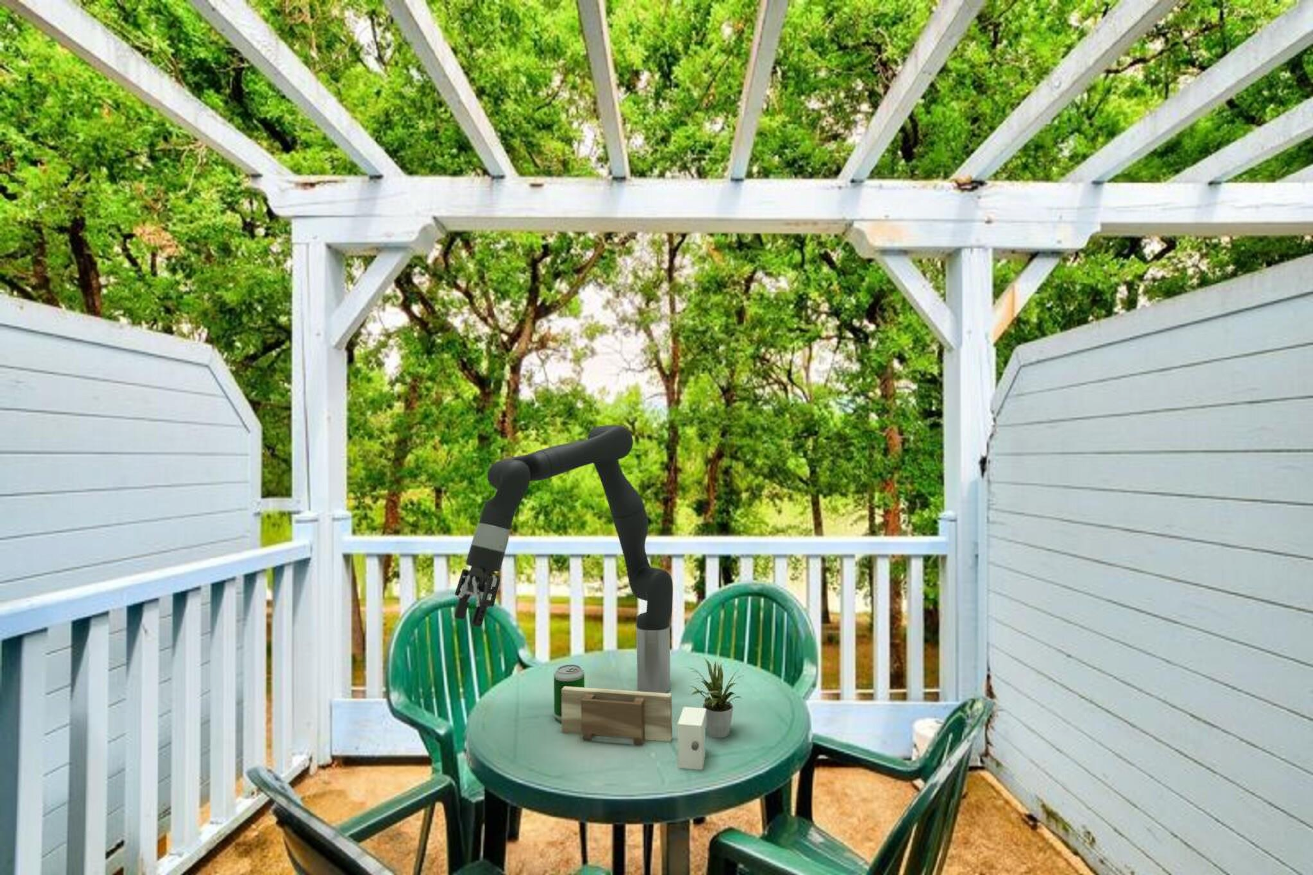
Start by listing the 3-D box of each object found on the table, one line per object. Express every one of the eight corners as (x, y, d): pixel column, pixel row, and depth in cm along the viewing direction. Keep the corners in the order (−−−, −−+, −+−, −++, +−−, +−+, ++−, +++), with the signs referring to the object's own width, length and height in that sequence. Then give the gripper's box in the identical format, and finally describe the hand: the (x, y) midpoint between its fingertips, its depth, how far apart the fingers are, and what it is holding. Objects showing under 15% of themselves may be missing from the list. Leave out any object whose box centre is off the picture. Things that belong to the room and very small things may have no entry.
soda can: (579, 725, 144) (578, 675, 144) (549, 722, 145) (549, 673, 146) (588, 711, 151) (588, 664, 151) (560, 709, 153) (560, 662, 153)
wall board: (564, 728, 142) (564, 686, 142) (672, 737, 137) (671, 693, 137) (556, 739, 137) (556, 695, 137) (667, 749, 132) (667, 703, 132)
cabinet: (684, 747, 132) (683, 706, 132) (706, 749, 131) (706, 708, 131) (677, 769, 123) (676, 725, 123) (701, 772, 122) (700, 727, 122)
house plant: (674, 723, 144) (673, 655, 144) (724, 713, 149) (723, 647, 150) (701, 750, 131) (700, 675, 131) (755, 737, 136) (754, 665, 136)
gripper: (519, 553, 128) (498, 630, 124) (489, 547, 139) (468, 618, 135) (488, 546, 124) (465, 626, 120) (459, 540, 134) (437, 613, 130)
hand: (467, 622), depth 127 cm, fingers open, 8 cm apart
